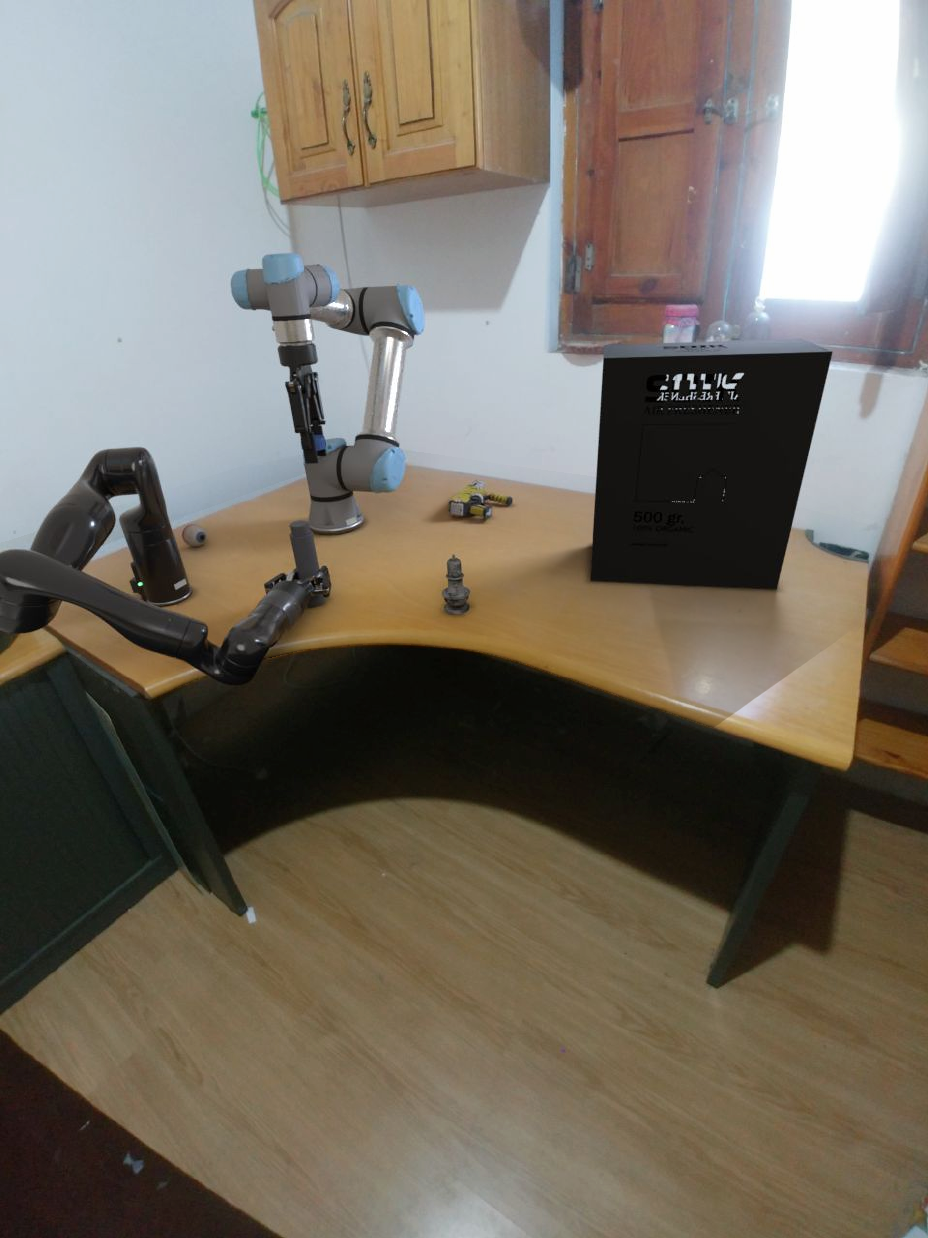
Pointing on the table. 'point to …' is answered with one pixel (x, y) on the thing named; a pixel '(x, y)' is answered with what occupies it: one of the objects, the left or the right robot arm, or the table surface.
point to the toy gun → (475, 501)
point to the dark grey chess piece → (455, 588)
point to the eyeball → (194, 535)
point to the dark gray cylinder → (305, 554)
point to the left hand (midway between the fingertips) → (314, 569)
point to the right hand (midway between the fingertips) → (316, 459)
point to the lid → (319, 442)
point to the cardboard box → (703, 460)
